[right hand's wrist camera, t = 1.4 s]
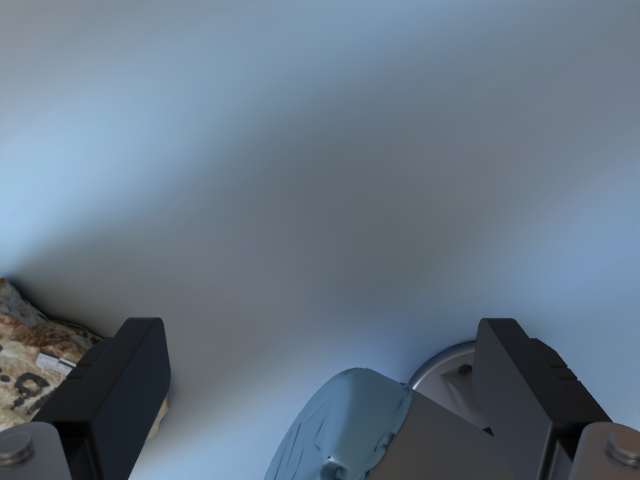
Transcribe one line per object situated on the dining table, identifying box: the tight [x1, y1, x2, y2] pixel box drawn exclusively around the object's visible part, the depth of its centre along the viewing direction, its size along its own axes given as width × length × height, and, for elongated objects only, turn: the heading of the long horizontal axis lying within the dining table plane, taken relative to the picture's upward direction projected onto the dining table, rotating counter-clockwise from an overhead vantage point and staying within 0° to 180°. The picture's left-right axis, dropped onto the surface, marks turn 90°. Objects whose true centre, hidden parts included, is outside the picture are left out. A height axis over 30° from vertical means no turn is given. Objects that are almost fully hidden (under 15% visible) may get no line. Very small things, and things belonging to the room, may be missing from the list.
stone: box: [0, 278, 171, 444], centre depth 44 cm, size 19×6×25 cm
